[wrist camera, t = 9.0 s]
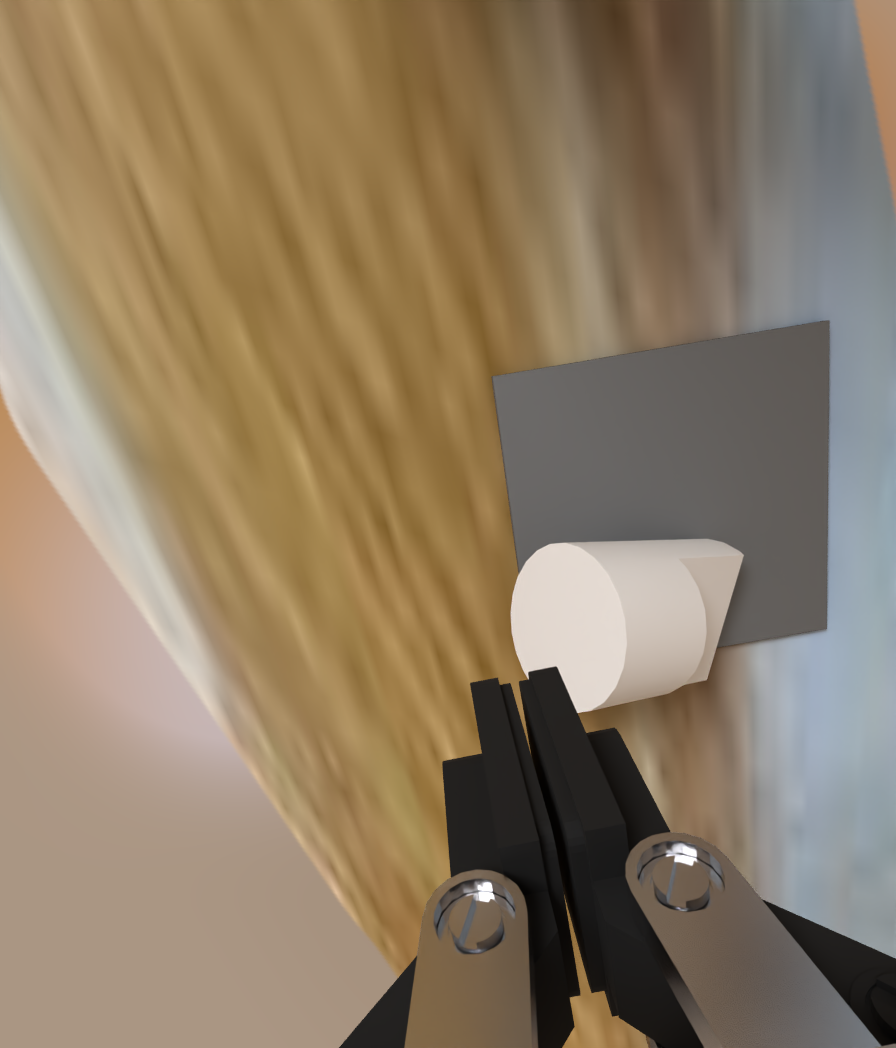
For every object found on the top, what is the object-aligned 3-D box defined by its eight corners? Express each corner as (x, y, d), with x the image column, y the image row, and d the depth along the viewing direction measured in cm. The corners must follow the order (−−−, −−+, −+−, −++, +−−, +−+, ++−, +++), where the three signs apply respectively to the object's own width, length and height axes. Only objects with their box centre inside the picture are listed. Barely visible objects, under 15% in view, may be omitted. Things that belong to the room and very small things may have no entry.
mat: (491, 376, 37) (492, 377, 37) (822, 320, 37) (829, 320, 37) (532, 674, 43) (534, 678, 42) (821, 624, 43) (826, 628, 42)
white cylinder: (499, 661, 38) (635, 641, 45) (602, 748, 31) (747, 709, 38) (527, 521, 36) (666, 520, 42) (645, 579, 29) (792, 568, 35)
